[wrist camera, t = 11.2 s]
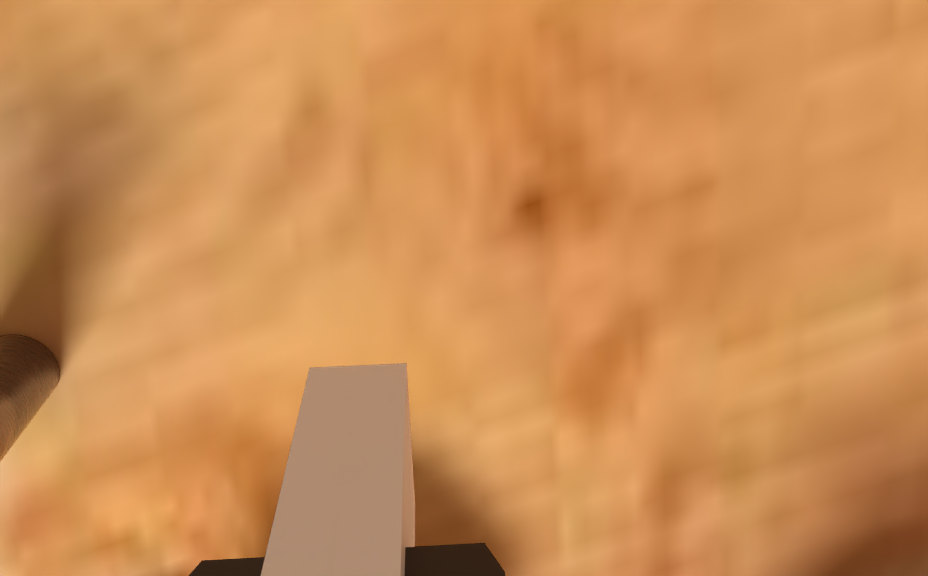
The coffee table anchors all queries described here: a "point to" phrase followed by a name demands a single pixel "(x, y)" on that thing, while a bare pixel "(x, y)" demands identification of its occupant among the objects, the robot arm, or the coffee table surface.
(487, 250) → the coffee table surface
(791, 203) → the coffee table surface
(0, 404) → the post
